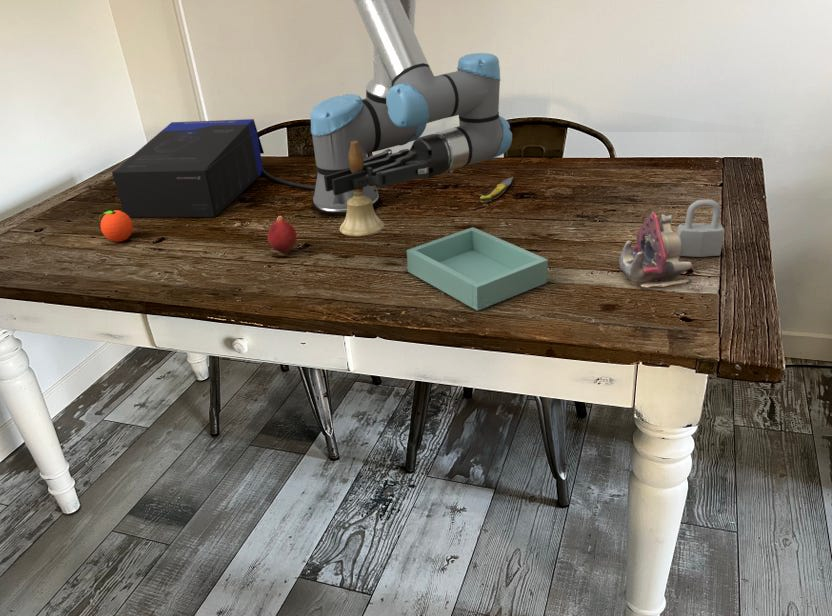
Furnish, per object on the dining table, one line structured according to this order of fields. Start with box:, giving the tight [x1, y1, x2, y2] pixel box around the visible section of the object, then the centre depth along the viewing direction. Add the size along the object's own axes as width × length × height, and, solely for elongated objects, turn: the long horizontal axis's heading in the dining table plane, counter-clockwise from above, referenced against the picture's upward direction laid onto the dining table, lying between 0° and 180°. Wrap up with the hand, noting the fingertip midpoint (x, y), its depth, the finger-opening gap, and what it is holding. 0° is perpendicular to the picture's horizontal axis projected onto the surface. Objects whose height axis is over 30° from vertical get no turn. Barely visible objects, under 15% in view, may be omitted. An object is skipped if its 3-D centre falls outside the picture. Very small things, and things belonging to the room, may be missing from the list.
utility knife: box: [479, 176, 514, 203], centre depth 170 cm, size 16×1×3 cm
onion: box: [267, 215, 298, 255], centre depth 150 cm, size 6×6×8 cm
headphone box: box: [111, 118, 265, 218], centre depth 188 cm, size 25×35×14 cm
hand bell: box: [339, 141, 385, 237], centre depth 133 cm, size 8×8×16 cm
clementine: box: [98, 209, 134, 243], centre depth 166 cm, size 8×7×7 cm
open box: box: [406, 226, 549, 312], centre depth 133 cm, size 20×15×4 cm
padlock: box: [676, 198, 725, 258], centre depth 130 cm, size 7×4×10 cm, turn 78°
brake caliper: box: [618, 211, 693, 289], centre depth 126 cm, size 11×11×12 cm
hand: (329, 185), depth 130 cm, fingers closed on hand bell, 2 cm apart
